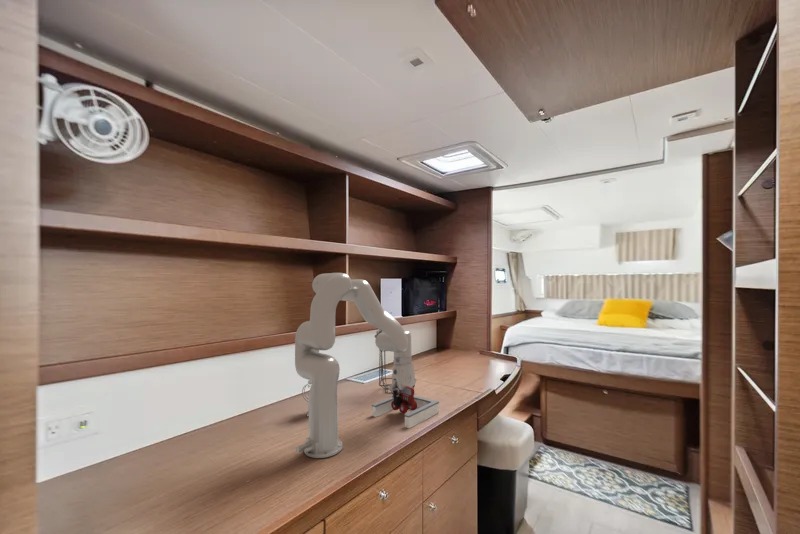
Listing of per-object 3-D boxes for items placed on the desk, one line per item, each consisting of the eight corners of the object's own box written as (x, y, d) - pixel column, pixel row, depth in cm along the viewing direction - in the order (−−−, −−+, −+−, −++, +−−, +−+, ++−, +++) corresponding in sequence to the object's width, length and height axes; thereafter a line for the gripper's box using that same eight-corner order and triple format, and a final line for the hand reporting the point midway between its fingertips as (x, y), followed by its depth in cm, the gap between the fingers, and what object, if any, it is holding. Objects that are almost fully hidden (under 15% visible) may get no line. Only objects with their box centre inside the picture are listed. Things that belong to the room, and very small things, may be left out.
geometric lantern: (408, 395, 170) (404, 324, 171) (376, 396, 170) (373, 325, 171) (408, 385, 186) (405, 320, 187) (379, 386, 186) (375, 321, 187)
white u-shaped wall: (409, 428, 132) (408, 416, 132) (372, 415, 145) (371, 404, 145) (439, 412, 147) (438, 401, 147) (403, 402, 160) (402, 392, 160)
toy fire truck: (400, 404, 152) (399, 380, 152) (420, 411, 143) (419, 386, 143) (387, 408, 147) (387, 383, 148) (407, 416, 138) (407, 389, 138)
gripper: (395, 365, 137) (396, 411, 136) (422, 357, 150) (423, 399, 149) (381, 362, 142) (382, 406, 141) (409, 355, 155) (409, 395, 154)
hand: (403, 402), depth 145 cm, fingers closed on toy fire truck, 7 cm apart
